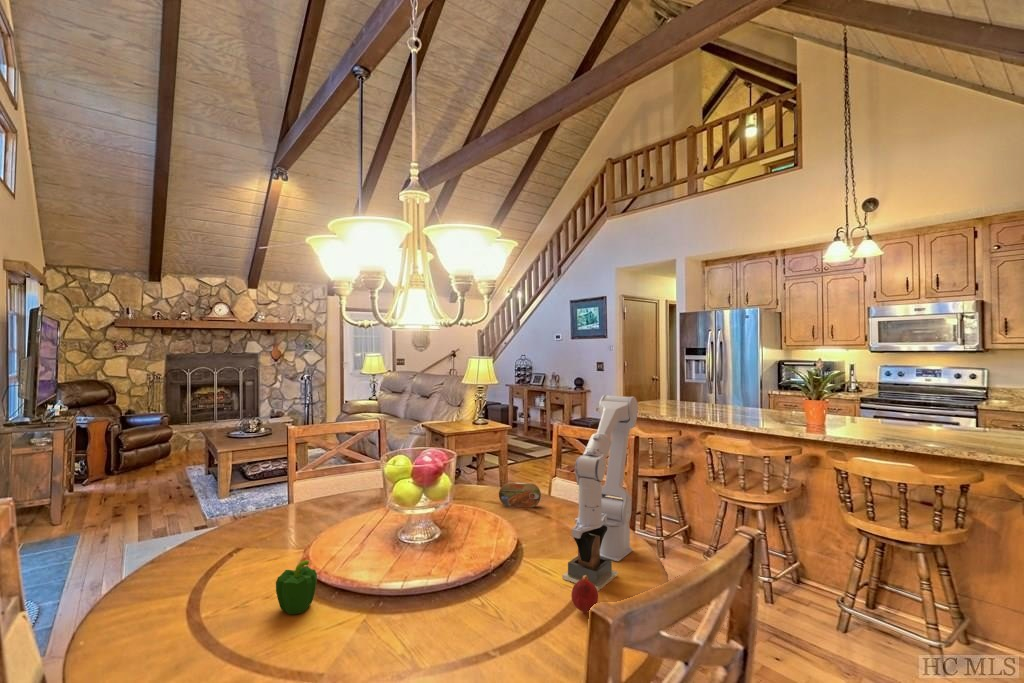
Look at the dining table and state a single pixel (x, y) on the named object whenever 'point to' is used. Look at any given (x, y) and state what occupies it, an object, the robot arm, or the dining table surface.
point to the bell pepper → (296, 588)
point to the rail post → (592, 554)
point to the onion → (584, 594)
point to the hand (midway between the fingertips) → (590, 557)
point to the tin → (520, 495)
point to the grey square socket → (591, 572)
